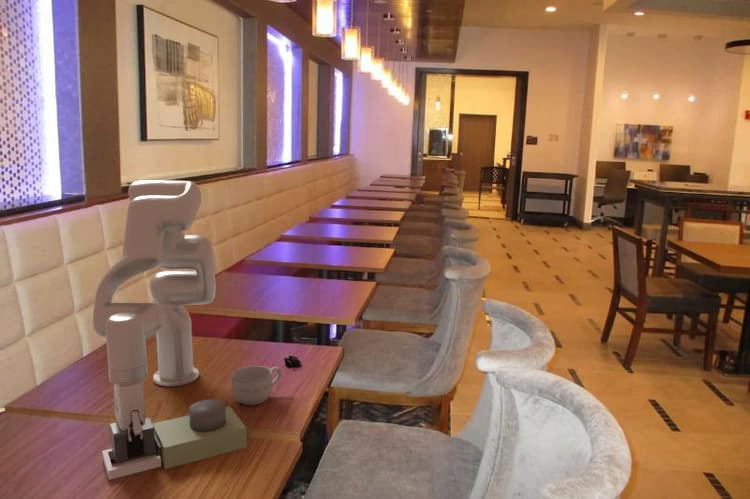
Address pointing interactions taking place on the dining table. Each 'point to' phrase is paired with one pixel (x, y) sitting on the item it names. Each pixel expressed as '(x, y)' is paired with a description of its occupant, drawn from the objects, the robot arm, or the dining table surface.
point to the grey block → (121, 438)
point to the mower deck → (188, 439)
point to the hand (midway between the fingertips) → (133, 449)
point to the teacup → (254, 383)
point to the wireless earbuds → (291, 361)
